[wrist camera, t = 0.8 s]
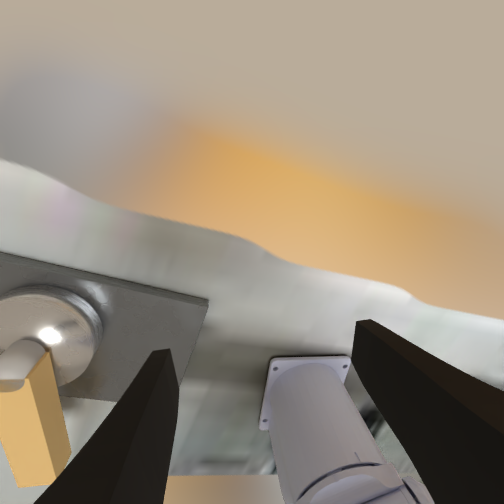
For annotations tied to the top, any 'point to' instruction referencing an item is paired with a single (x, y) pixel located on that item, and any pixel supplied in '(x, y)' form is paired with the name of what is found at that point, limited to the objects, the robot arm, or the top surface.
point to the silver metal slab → (94, 324)
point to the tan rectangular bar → (31, 415)
